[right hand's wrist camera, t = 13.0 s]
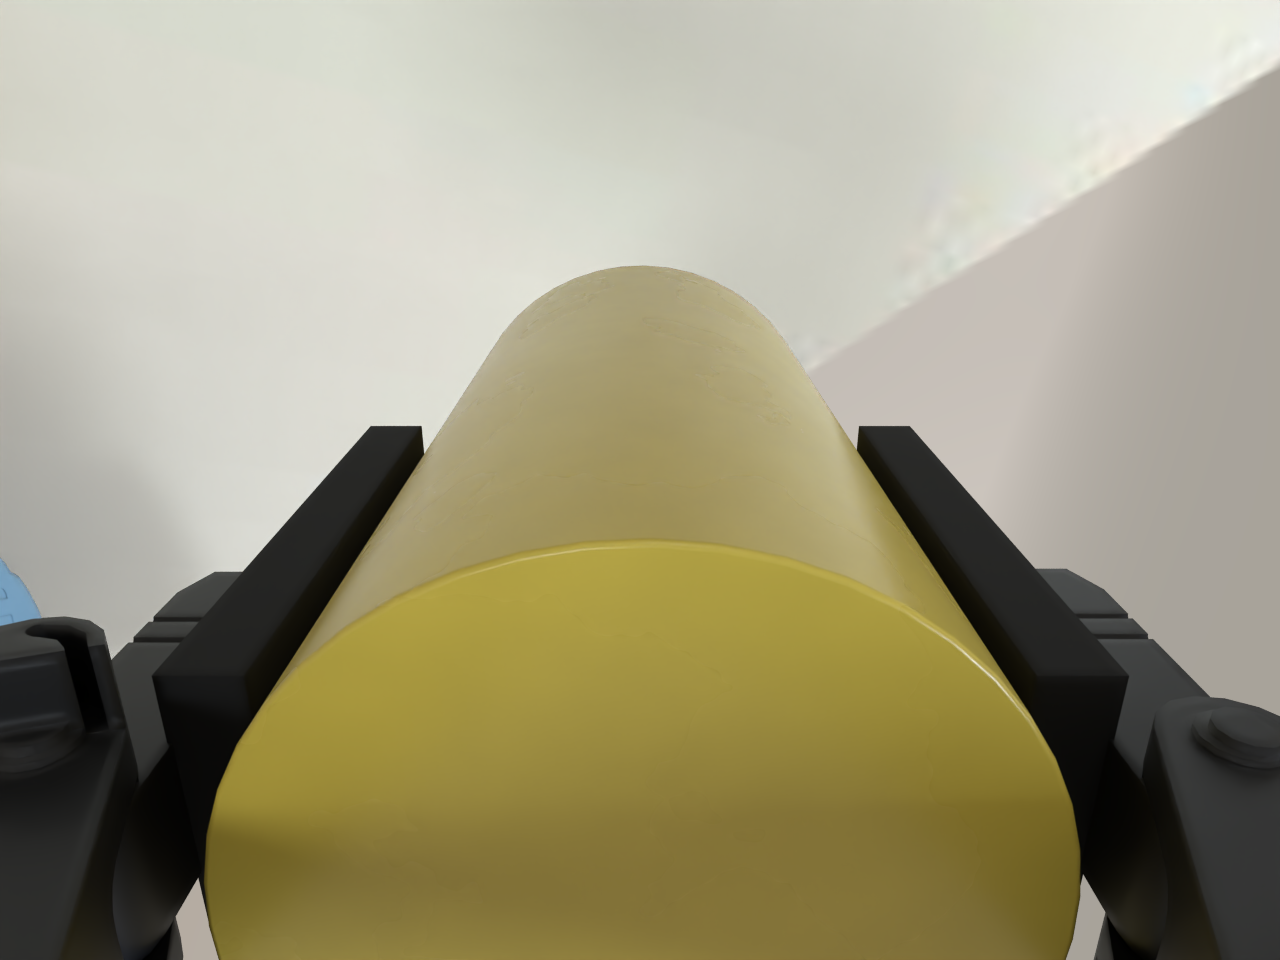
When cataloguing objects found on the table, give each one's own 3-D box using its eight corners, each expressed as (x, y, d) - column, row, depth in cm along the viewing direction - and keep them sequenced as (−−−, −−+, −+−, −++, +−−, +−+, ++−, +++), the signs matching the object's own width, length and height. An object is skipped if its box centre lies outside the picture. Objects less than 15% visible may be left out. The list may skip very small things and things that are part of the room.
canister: (746, 209, 16) (964, 389, 5) (851, 525, 18) (1154, 1102, 7) (413, 342, 17) (17, 731, 6) (552, 627, 19) (441, 1276, 8)
